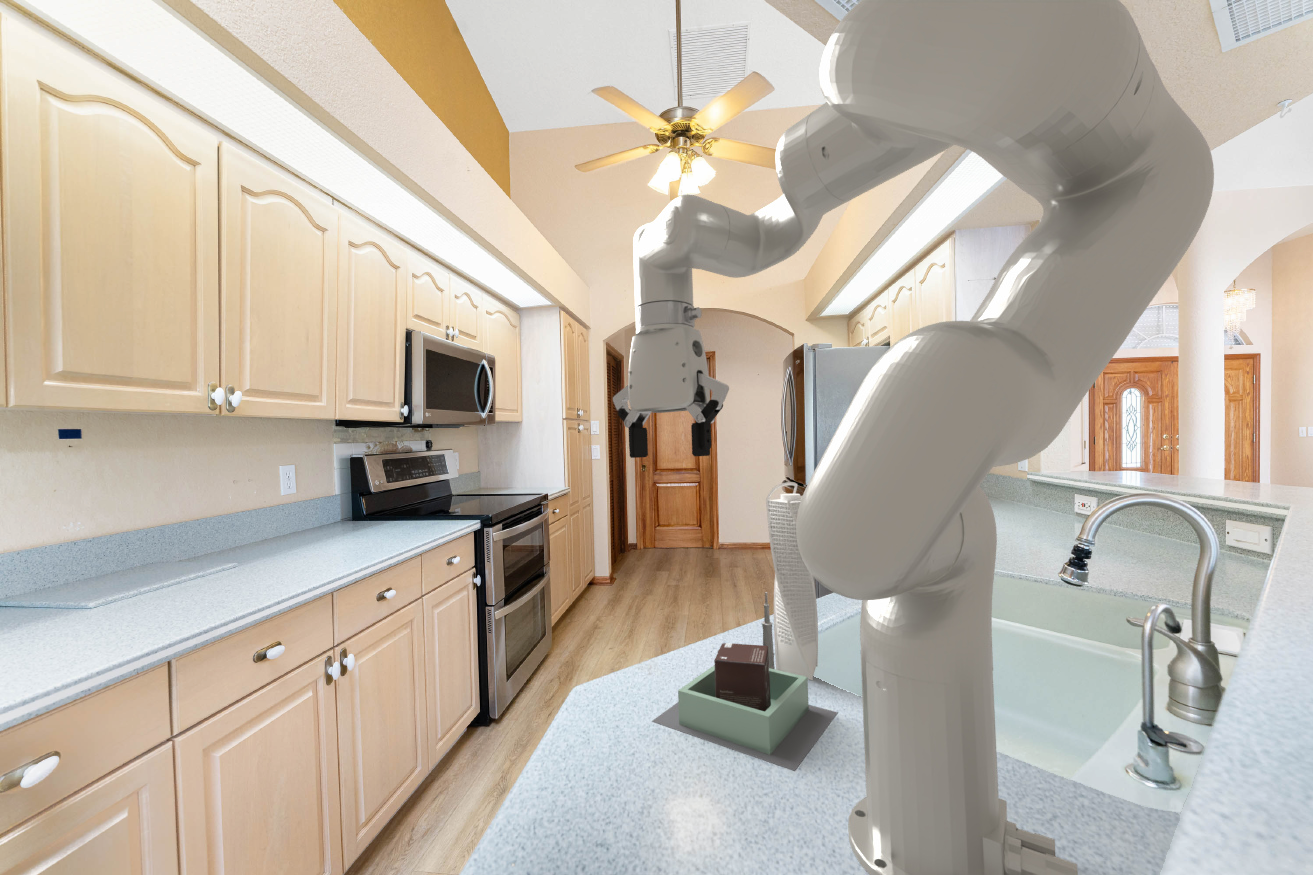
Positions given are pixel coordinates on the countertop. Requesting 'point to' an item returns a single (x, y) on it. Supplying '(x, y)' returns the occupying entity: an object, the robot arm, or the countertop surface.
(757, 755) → the mat
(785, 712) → the crate
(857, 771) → the countertop surface
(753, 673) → the box
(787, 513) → the skyscraper
